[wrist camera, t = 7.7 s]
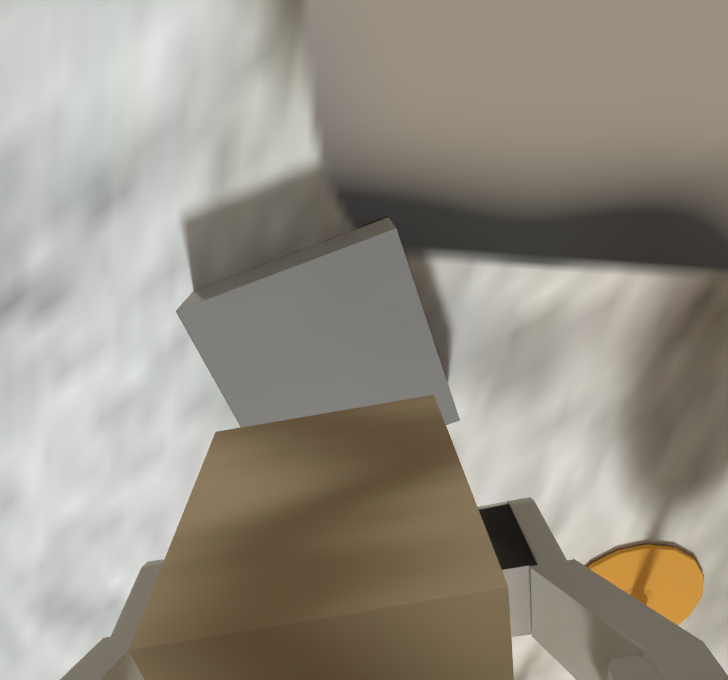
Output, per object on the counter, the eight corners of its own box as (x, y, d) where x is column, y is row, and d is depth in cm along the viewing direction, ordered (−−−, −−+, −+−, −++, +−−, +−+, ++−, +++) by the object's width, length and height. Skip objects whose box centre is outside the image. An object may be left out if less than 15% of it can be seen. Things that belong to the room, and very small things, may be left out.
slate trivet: (387, 215, 20) (396, 228, 18) (444, 387, 24) (459, 420, 21) (195, 288, 21) (175, 311, 18) (279, 444, 25) (272, 483, 22)
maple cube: (433, 394, 11) (508, 587, 6) (452, 555, 13) (520, 792, 8) (215, 431, 11) (128, 649, 6) (268, 586, 13) (232, 839, 8)
